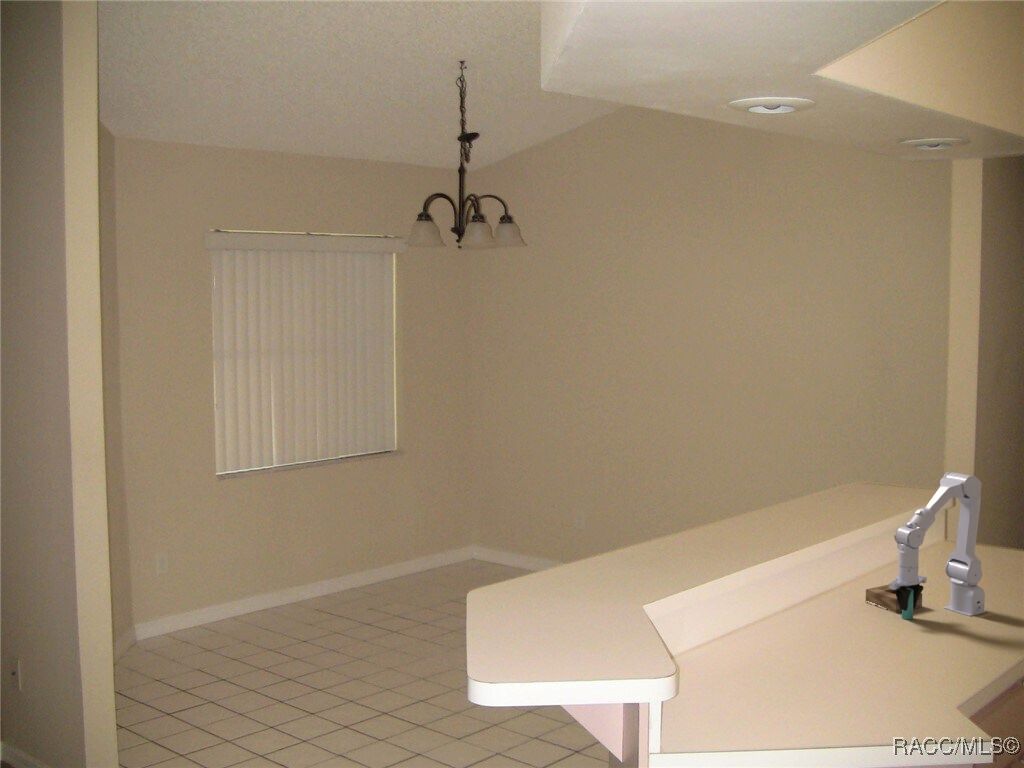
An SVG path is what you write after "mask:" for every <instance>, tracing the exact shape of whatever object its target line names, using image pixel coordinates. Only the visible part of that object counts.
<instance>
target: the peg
mask: <svg viewBox="0 0 1024 768" xmlns="http://www.w3.org/2000/svg"><path fill="white" fill-rule="evenodd" d="M907 589H908V590H911V593H910V595H909V599H908V608H907V611H904V610H902V612H901V619H903V620H909V621H910V620H913V619H914V609H913V589H910V588H907Z"/></svg>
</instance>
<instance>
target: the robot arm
mask: <svg viewBox="0 0 1024 768" xmlns="http://www.w3.org/2000/svg"><path fill="white" fill-rule="evenodd" d="M939 485H940V486H939V487H938V489H937V490H936V492H935V493H934V494H933V496H932V497H931V499H930V500H929V502H928V503H927V505H926V506H925V507H922V508H919V509H917V510H916V511H915V512H914V514H913V516H912V517H911V518H910V519H909V520H908V522H907V523H906V524H905V525H903V526H900V527H899V528H898V529H897V530H896V531H895V534H894V536H893V538H894V541H895V542H896V545H897V546H896V547H897V549H898V556H897V557H898V561H897V563H898V564H897V565H898V568H897V569H898V570H897V571H898V572H897V576H895V580H893V581H889V583H888V585H889V589H892V590H893V591H894V592H895V594H896V597H897V599H898V603H899V607H900V609H901V610H904V611H907V608H908V599H909V595H910V593H911V590H908V589H907V588H910V589H913V610H915V607H916V604H917V600H918V598H919V595H920V593H922V592H923V591H924V586H923V585H921V584H927V581H928V580H927V578H928V577H927V576H925V575H919V556H920V555H919V552H920V551H919V548H920V546H923V543H924V540H925V539H924V538H925V536H926V532H927V531H928V530H929V529H930V528H931V527H932V525H933V524H934V523H935V522H936V514H937V513H938V512H940V510H941V509H943V507H944V506H945V505H946V504H948V502H949V501H950V500H952V499H957V500H959V502H960V509H959V510H960V511H959V516H958V517H959V519H958V527H957V537H956V545H955V550H954V551H952V553H950V554H949V555H948V558H947V562H946V563H945V569H944V571H945V574H946V576H947V577H948V580H949V581H950V597H949V598H950V599H949V600H950V602H949V605H946V606H945V605H944V606H943V608H944V609H946V610H949V611H953V612H955V613H959V614H961V615H964V616H968V617H972V616H973V617H974V616H976V615H980V614H981V615H982V614H983V613H984V614H985V613H987V611H986V610H985V597H986V595H985V590H984V589H983V587H981V586H978V584H979V583H980V582H981V580H982V578H983V569H982V561H981V559H980V558H979V557H978V556H977V554H975V553H976V543H977V536H978V526H979V520H980V519H979V518H980V511H981V501H982V497H981V493H982V492H981V491H982V485H983V483H982V482H981V481H980V479H979V478H978V477H977V476H975V475H969V474H965V473H958V472H955V471H947V472H945V473H944V475H943V476H942V478H940V481H939Z"/></svg>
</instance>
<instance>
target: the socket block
mask: <svg viewBox="0 0 1024 768" xmlns="http://www.w3.org/2000/svg"><path fill="white" fill-rule="evenodd" d="M866 601H869V602H872V603H875V604H877V605H880V606H882V607H884V608H886V609H888V610H891V611H894V612H896V613H895V614H898V613H897V612H899V613H902V612H901V611H902V610H901V609H900V607H899V603H898V599H897V597H896V594H895V592H894V591H893V590H892V589H889V584H885V585H880V586H876V587H871V588H867V589H865V602H866ZM919 607H920V608H922V607H923V593H922V592H921V593H920V595H919V598H918V600H917V604H916V607H915V608H916V609H920V608H919ZM888 610H887V611H888ZM891 611H890V612H891ZM894 612H893V613H894Z"/></svg>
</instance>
